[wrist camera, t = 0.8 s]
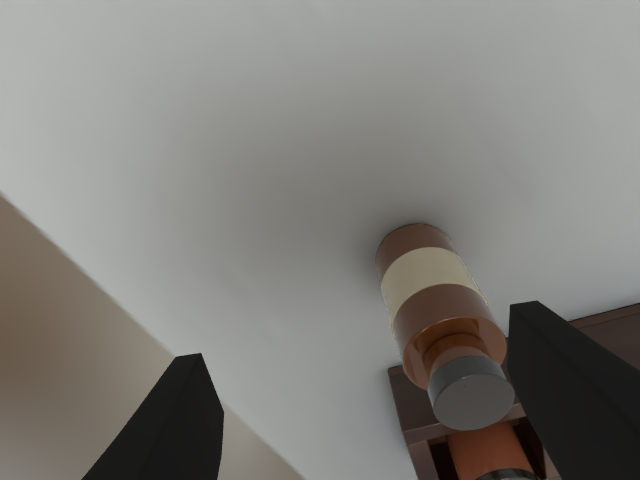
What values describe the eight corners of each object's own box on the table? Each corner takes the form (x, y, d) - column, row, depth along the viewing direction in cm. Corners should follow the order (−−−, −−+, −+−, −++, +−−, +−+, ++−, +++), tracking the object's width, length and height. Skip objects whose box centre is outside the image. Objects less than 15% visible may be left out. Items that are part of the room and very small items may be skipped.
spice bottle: (459, 278, 22) (539, 427, 15) (384, 299, 23) (426, 454, 16) (446, 211, 21) (529, 344, 13) (364, 235, 21) (402, 377, 14)
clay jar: (503, 418, 27) (549, 515, 22) (441, 433, 27) (472, 532, 22) (495, 374, 25) (543, 470, 20) (429, 391, 25) (460, 489, 21)
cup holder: (755, 369, 26) (824, 429, 23) (414, 450, 29) (431, 516, 25) (776, 267, 23) (861, 319, 20) (387, 368, 25) (401, 432, 22)
